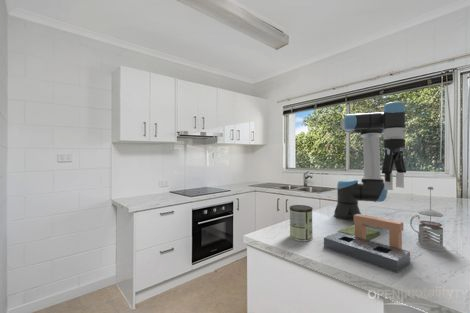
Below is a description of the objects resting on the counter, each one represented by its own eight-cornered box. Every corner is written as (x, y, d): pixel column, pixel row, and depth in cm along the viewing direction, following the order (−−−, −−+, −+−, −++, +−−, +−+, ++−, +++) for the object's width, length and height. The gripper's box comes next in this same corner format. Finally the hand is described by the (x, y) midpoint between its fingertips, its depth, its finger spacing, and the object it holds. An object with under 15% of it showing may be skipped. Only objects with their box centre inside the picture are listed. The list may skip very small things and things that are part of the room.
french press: (449, 252, 89) (449, 188, 89) (412, 246, 95) (411, 186, 95) (443, 244, 97) (443, 186, 97) (409, 239, 103) (409, 184, 103)
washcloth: (335, 234, 111) (335, 228, 111) (355, 228, 120) (355, 222, 120) (363, 243, 100) (363, 235, 100) (382, 235, 109) (382, 229, 109)
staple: (353, 242, 99) (353, 215, 99) (357, 240, 102) (357, 213, 102) (400, 255, 86) (400, 224, 86) (403, 253, 88) (403, 222, 88)
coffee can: (290, 232, 112) (290, 204, 112) (312, 235, 109) (312, 205, 109) (288, 239, 102) (288, 208, 102) (312, 242, 99) (312, 210, 99)
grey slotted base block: (323, 247, 94) (323, 237, 94) (339, 240, 101) (339, 231, 101) (397, 273, 73) (397, 260, 73) (410, 262, 80) (410, 251, 80)
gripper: (394, 136, 86) (394, 192, 86) (413, 139, 102) (414, 187, 102) (372, 137, 92) (372, 189, 92) (394, 140, 108) (394, 185, 107)
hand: (394, 188), depth 97 cm, fingers open, 13 cm apart
